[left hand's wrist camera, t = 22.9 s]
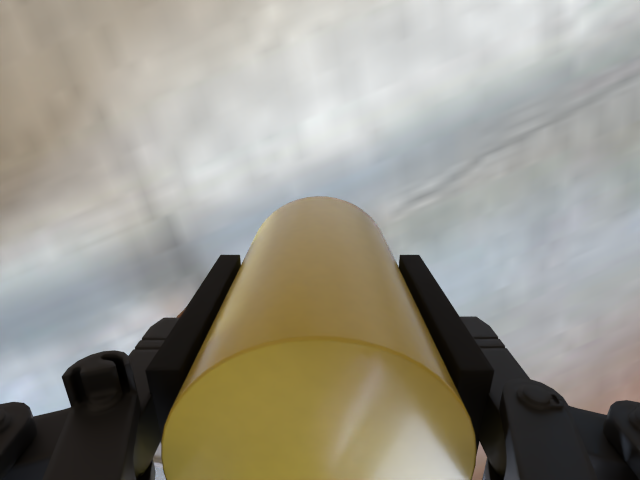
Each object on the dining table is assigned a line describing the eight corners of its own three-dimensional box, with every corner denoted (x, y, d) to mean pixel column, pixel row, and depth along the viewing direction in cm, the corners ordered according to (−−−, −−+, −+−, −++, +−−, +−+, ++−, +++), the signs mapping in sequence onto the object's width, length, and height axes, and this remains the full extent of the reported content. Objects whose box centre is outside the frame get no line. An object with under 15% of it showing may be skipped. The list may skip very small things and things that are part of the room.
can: (416, 260, 16) (542, 464, 7) (322, 343, 18) (324, 598, 9) (316, 165, 15) (309, 267, 6) (223, 265, 17) (98, 474, 7)
